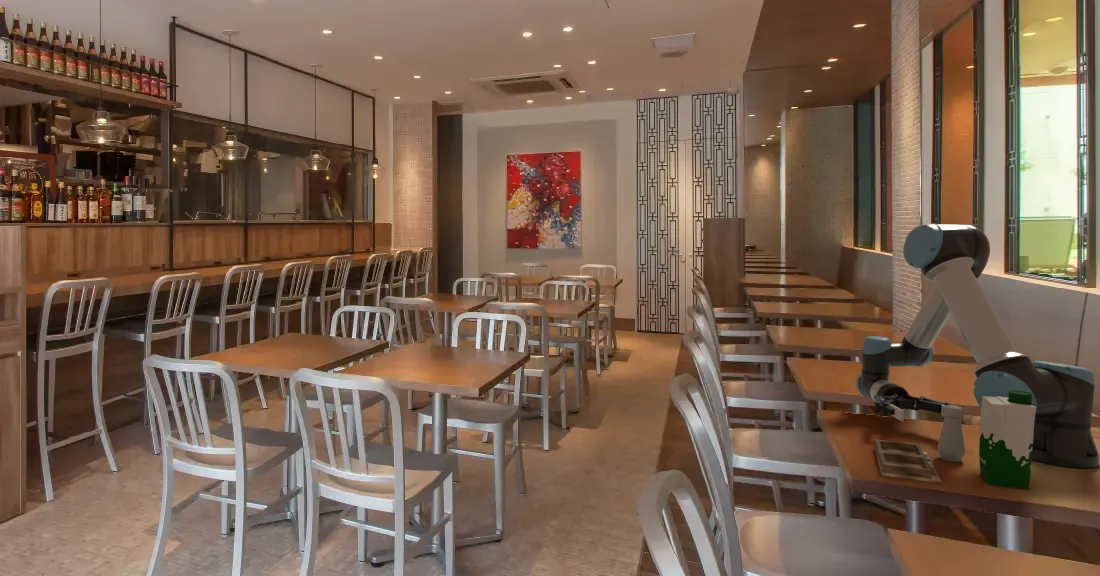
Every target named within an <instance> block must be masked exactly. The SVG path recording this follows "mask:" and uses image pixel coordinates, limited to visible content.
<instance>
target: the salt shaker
mask: <svg viewBox="0 0 1100 576" xmlns="http://www.w3.org/2000/svg"><path fill="white" fill-rule="evenodd" d="M942 413H943V415H945V417H944V420H943V422H942V426H941V431H940V436H939V438H938V443H937V446H936V447H937V448H936V450H937V452H938V455H939V456H940V458H941V460H944V461H947V462H951V463H959V462H961V461H962V459H963V458H964V456H965V455H966V445H965V437H964V433H963V432H964V431H963V426H962V419H961V418H963V417H964V414H965V412H964V409H963V408H962V407H961V406H957V405H954V404H952V405H946V406H944V407H943V410H942Z"/></svg>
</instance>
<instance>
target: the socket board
mask: <svg viewBox="0 0 1100 576" xmlns="http://www.w3.org/2000/svg"><path fill="white" fill-rule="evenodd" d="M874 444H875V445H874V450H875V455H876V458H877V461H878V462H877V463H878V465H879V469H880V473H881V476H882V477H883V476H885V477H891V478H897V479H898V478H899V479H905V480H913V481H921V482H926V483H934V484H935V483H936V484H942V479H941V478H940V475H939V473H938V471H937V470H936V467H935V465H934V463H933V462H932V459H931V457H930V456H929V454H928V452H927V451H924V450H923V449H922V446H921V444H917V443H909V442H901V441H894V440H893V441H891V440H885V439H882V440H881V439H875V443H874Z"/></svg>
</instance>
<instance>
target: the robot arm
mask: <svg viewBox="0 0 1100 576" xmlns="http://www.w3.org/2000/svg"><path fill="white" fill-rule="evenodd" d="M990 246H991V245H990V241H989V238H988V237H987V235H986V234H985V233H984V232H983V231H982V230H981V229H980V228H978V227H975V226H974V225H971V224H965V223H963V224H961V223H960V224H937V223H928V224H920V225H918V226H916V227H914V228H913V229H912V230H911V231H910V232H909V233H908V235H907V236H906V238H905V240H904V244H903V247H902V248H903V249H902V252H903V257H904V260H905V262H906V263H907V264H908V265H909V266H911V267H912V268H915V269H920V270H921V271H922V274H923V276H924V278H925V279H926V280H927V281H929V282H933V283H934V284H933V286H932V289H931V290H930V291H929V293H928V296H927V297H926V299H925V301H924V302H923V304H922V306H921V307H920V309H919V311H918V312H917V314H916V316H915V318H914V320H913V321H912V322H911V324H910V326H909V328H908V330H907V331H906V333H905V335H903V338H902V339H901V341H898V342H891V341H892V340H891V339H890V338H889V337H885V336H879V335H876V336H874V335H870V336H869V335H868V336H865V337H864V339H863V343H862V349H861V353H862V355H861V362H862V363H861V371H860V372H861V374H859V375H858V377H857V378H856V379H855V388H856V390H857V391H858V392H859V394H860V395H862V396H863V397H865V398H866V399H868V400H871V401H872V402H873V404H874V412H875V413H878V414H879V413H881V412H882V416H883V417H884V416H885V417H888V415H889V416H891V417H893V418H895V419H897V420H898V421H899V422H904V420H905V419H904V418H905V410H913V411H920V410H921V411H926V412H932V413H937V414H941V416H942V417H944V418H945V415H943V413H942V410H943V407H944V406H946V405H953V404H952V403H949V402H947V401H946V402H943V401H940V400H937V399H936V400H935V399H933V398H928V397H926V396H923V395H920V396H919V397H918V396H913V395H911V394H909V393H908V391H907V390H906V388H904V387H902V386H900V385H898V384H897V383H894V382H892V381H890V371H891V370H890V369H891V368H899V367H918V366H925V365H928V364H929V363H930V362H931V361H933V358H934V356H933V355H934V350H933V348H932V345H933V344H934V342H935V340H936V339H937V337H938V336H939V334H940V332H941V331H942V329H943V327H944V326H945V324H946V323H947V322H948V319H949V318H950V316H951V315H952V317H953V319H954V322H955V323H956V325H957V327H958V329H959V331H960V333H961V335H962V337H963V339H964V340H965V342H966V344H967V346H968V348H969V350H970V352H971V354H972V356H973V357H974V360H975V362H976V363H977V365H976V367H975V370H974V374H975V377H976V379H975V381H974V383H973V386H974V388H973V396H974V399H975V401H976V402H977V404H978V406H979V408H981V409H982V396H990V397H996V396H999V397H1008V395H1009V391H1011V390H1016V391H1025V392H1029V393H1031V394H1032V403H1033V405H1034V406H1035V407H1036V413H1035V420H1034V432H1033V449H1032V460H1033V461H1037V462H1041V463H1046V464H1049V465H1052V466H1053V465H1054V466H1059V467H1067V468H1074V469H1075V468H1077V469H1092V468H1096V467H1099V463H1100V453H1099V451H1098V448H1097V446H1096V442H1095V439H1094V437H1093V433H1092V421H1093V419H1092V418H1093V407H1094V406H1093V405H1094V404H1093V403H1094V394H1095V387H1096V385H1095V374H1094V373H1093V371H1092V370H1091V369H1090V368H1087V367H1086V368H1085V367H1081V366H1076V365H1070V364H1064V363H1057V362H1051V361H1043V360H1034V361H1033V362H1032V361H1031V358H1030V357H1029V356H1028V354H1024V353H1021V352H1018V350H1017V349H1016V347H1015V345H1014V343H1013V341H1012V340H1011V338H1010V336H1009V334H1008V333H1007V331H1006V328H1005V327H1004V325H1003V323H1002V322H1001V321H1000V318H999V317H998V315H997V313H996V311H995V310H994V308H993V306H992V304H991V303H990V300H989V299H988V297H987V296H986V293H985V291H984V290H983V288H982V286H981V285H980V283H979V280H978V279H979V278H980V276H981V275H982V274H983V272H984V270H985V269H986V266H987V264H988V262H989V259H990V254H991V247H990Z"/></svg>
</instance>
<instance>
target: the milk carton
mask: <svg viewBox="0 0 1100 576" xmlns="http://www.w3.org/2000/svg"><path fill="white" fill-rule="evenodd" d="M980 411H981V412H980V426H979V429H980V430H979V443H978V444H979V446H978V448H979V449H978V453H979V454H978V459H979V472H980V473H979V474H981V476H982V477H983V479H984V481H986V482H987V484H988V485H991V486H996V487H997V486H998V487H1005V488H1014V489H1023V490H1030V482H1031V481H1030V480H1031V474H1032V473H1031V472H1032V463H1033V461H1032V460H1033V459H1032V449H1033V432H1034V420H1035V413H1036V407H1035V406H1034V405H1033V403H1032V394H1031V393H1029V392H1025V391H1016V390H1011V391H1009V395H1008V397H999V396H996V397H990V396H982V408H981V410H980Z"/></svg>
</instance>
